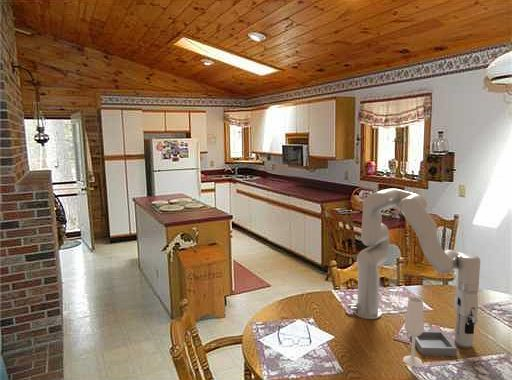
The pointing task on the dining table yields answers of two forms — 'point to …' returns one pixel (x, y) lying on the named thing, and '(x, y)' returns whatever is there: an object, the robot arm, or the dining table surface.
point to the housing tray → (434, 344)
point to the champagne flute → (414, 327)
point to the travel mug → (462, 330)
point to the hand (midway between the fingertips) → (464, 328)
